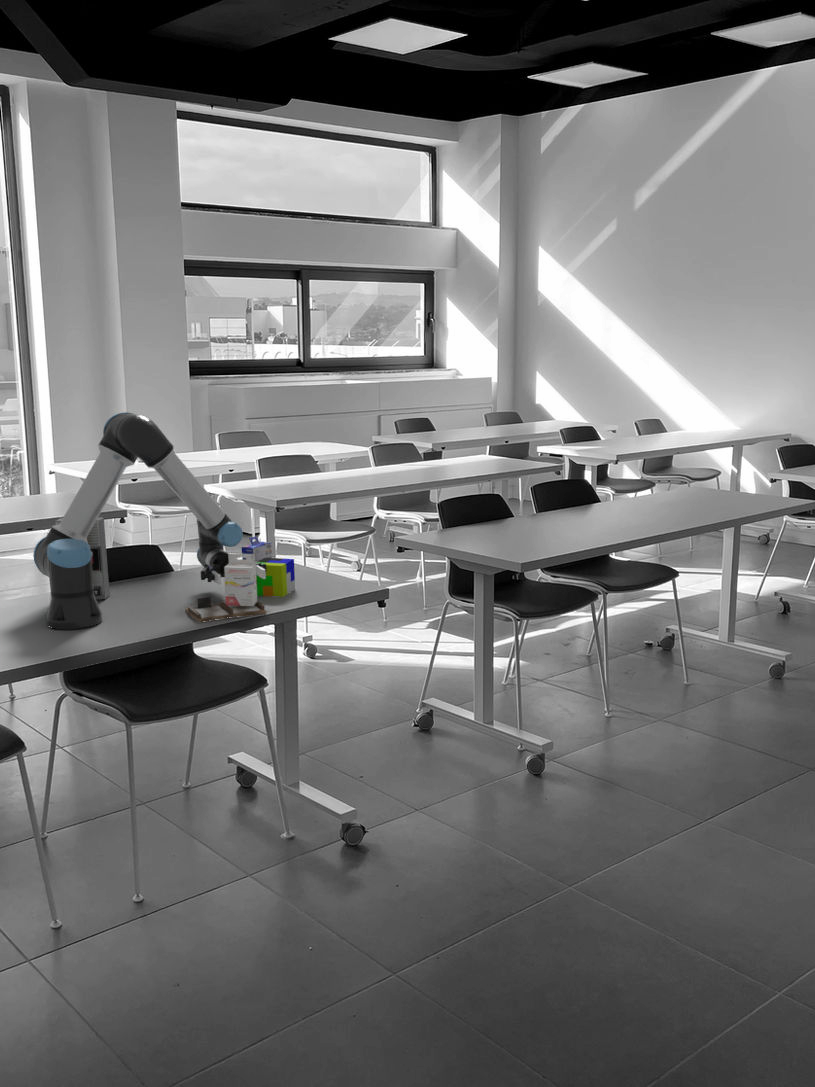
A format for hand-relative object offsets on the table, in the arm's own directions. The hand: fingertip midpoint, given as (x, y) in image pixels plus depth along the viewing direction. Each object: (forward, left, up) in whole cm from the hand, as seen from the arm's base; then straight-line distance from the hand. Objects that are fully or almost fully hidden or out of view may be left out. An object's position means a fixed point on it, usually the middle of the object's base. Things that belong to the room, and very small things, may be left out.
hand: (242, 577), depth 309 cm
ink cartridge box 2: (+17, +36, -11) cm, 41 cm away
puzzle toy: (+16, +18, -11) cm, 27 cm away
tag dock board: (-5, +2, -10) cm, 12 cm away
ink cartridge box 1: (0, +1, -8) cm, 9 cm away
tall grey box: (-38, +41, -11) cm, 57 cm away
